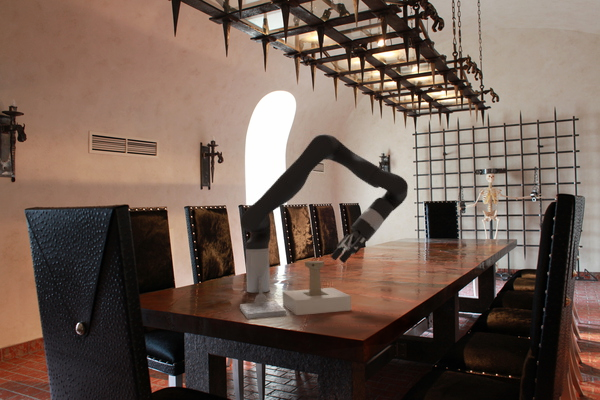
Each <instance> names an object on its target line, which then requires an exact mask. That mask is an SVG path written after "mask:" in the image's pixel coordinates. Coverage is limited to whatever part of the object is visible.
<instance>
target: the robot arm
mask: <svg viewBox="0 0 600 400" xmlns="http://www.w3.org/2000/svg"><path fill="white" fill-rule="evenodd" d="M325 160H327V161H328V160H329V161H332V162H335V163H337V164H339V165H341V166H344V167H345V168H346V169H348V170H349V171H350V172H351V173H352V174H353V175H355V177H357V178H358V179H360V180H361V181H362V182H365V183H366V184H368V185H369V186H371V187H373V188H375V189H379V188H381V189H383V190H385V191H386V192H385V193H384V194H382V196H381V197H377V198H376V199H374V201H372V203H371V204H370V205H369V206H368V208H366V209H365V210H364V212H362V213H361V214H360V215H359V217H358V218H357V219H356V220H355V222H353V224H352V225H351V226H350V229H351V231H352V233H351V234H349V233H346V235H344V237H343V238H341V240H340V241H339V242H338V243H337V244H336V249H335V250H334V251H333V252H332V253H331V255H330V258H331V259H332V260H334V261H337V259H339V261H340V262H341V263H343V264H344V263H346V262H347V260H349V259H350V257H351V256H352V255H356V254H357V253H358V252H359V251H360V250H361V249H362V247H363V246H364V245H365V244H366V242H368V241H369V240H370V239H372V237H373V236H374V235H375V234H376V233H377V231H378V230H379V229H380V228H381V226H382V224H383V223H384V221H385V220H386V219H388V217H389V216H390V214H391V213H393V212H394V211H395V210H396V209H397V208H398V207H400V206H401V205H402V204H403V203H404V201H405V200H406V199H407V198H408V197H407V196H408V189H409V185H408V182H407V181H406V179H405V178H403V177H402V176H400V175H398V174H396V173H394V172H390V171H387V170H384V169H383V168H381V167H379V166H378V165H377V164H374V163H372V162H371V161H368V160H367V159H365V158H363V157H362V156H360V155H358V154H357V153H355V152H353V151H352V150H351V149H349V148H348V147H347V146H346V145H344V144H343V143H342V142H341V141H340V140H339V139H337V137H335V136H334V135H331V134H327V133H326V134H325V133H321V134H317V135H315V136H314V137H313V138H312V140H311V141H310V142H309V144H308V145H307V147H305V149H304V150H303V152H302V153H301V154H300V155H299V157H298V158H296V160H294V161H293V162H292V164H291V165H290V166H289V167H288V168H287V169H286V170H285V171H284V172H283V173H282V174H281V175H280V176H279V177H278V178H277V179H276V181H274V182H273V184H272V185H271V186H270V187H269V188H268V189H267V190H266V191H265V192H264V194H262V196H261V197H260V198H259V199H258V200H257V201H255V203H253V204H252V205H251V206H250V207H248V208H247V209H246V210H245V211H244V212H243V214H242V215H241V218H240V226H241V228H242V229H243V230H244V231H245V232H250V237H249V239H248V240H246V242H245V264H246V265H245V266H246V267H245V268H246V291H247V293H251V294H253V293H254V294H255V293H256V294H259V283H258V282H259V277H257V276H256V274H255V272H254V271H253V268H252V265H251V253H250V252H249V251H256V250H269V251H270V249H269V248H270V247H269V245H270V241H271V227H272V226H271V217H270V214H272V212H274V210H276V209H278V208H280V207H282V206H283V205H285V204H286V203H287V202H289V201H290V200H292V199H293V198H294V197H295V196H296V195H297V194H298V193H299V192H300V191H301V190H302V189H303V187H304V185H305V184H306V182H307V180H308V177H309V176H310V174H311V172H312V171H313V170H314V169H315V168H316V167H317V166H318V165H319V164H320V163H322V162H323V161H325ZM269 253H270V252H269ZM269 253H268V259H269V260H270V254H269ZM270 279H271V278H270V264H269V265H268V268H267V271H266V273H265V275H264V276H263V277H262V282H263V283H262V287H263V289H262V293H266V292H270V289H271V288H270V287H271V285H270V281H271V280H270Z"/></svg>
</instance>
